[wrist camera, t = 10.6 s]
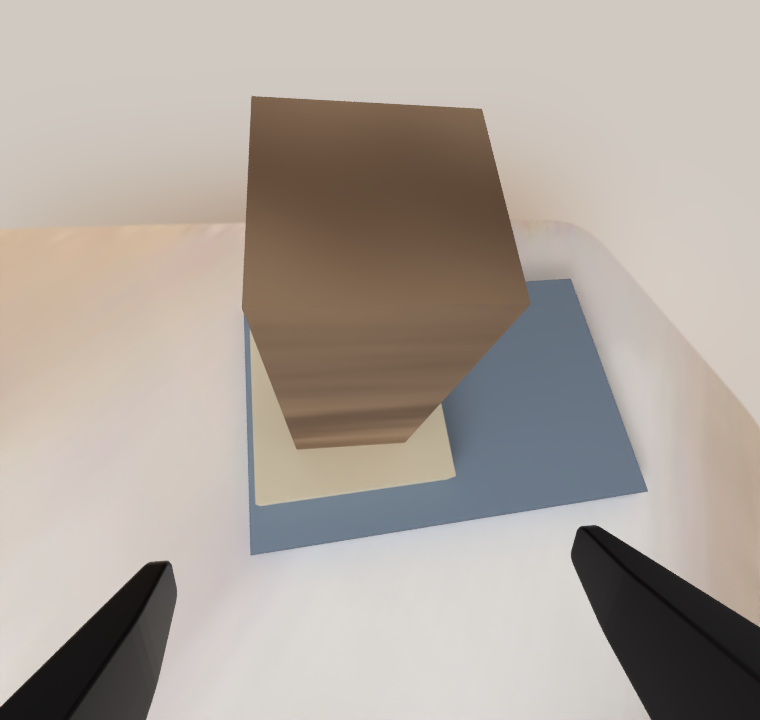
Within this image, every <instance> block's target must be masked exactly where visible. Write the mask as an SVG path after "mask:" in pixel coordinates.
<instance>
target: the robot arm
mask: <svg viewBox="0 0 760 720" xmlns="http://www.w3.org/2000/svg"><path fill="white" fill-rule="evenodd" d="M571 559H572V562H573V565H574V567H575V570H576V572H577V574H578V576H579V579H580V581H581V583H582V586H583V588H584V590H585V592H586V595H587V597H588V599H589V601H590V604H591V606H592V608H593V610H594V613H595V615H596V617H597V620H598V622H599V624H600V626H601V628H602V630H603V632H604V634H605V636H606V638H607V640H608V642H609V644H610V645H611V647H612V649H613V651H614V653H615V655H616V656H617V658H618V660H619V662H620V664H621V665H622V667H623V669H624V671H625V673H626V675H627V676H628V678H629V680H630V682H631V684H632V685H633V687H634V689H635V691H636V693H637V695H638V696H639V698H640V700H641V702H642V704H643V706H644V707H645V709H646V711H647V713H648V715H649V716H650V718H651V720H760V627H759V626H757V625H755V624H754V623H752V622H751V621H749V620H747V619H746V618H744V617H743V616H741V615H739V614H738V613H736V612H735V611H733V610H731V609H730V608H728V607H727V606H725V605H723V604H722V603H720V602H719V601H717V600H715V599H714V598H712V597H711V596H709V595H708V594H706V593H704V592H703V591H701V590H700V589H698V588H696V587H695V586H693V585H692V584H690V583H688V582H687V581H685V580H684V579H682V578H680V577H679V576H677V575H676V574H674V573H672V572H671V571H669V570H668V569H666V568H664V567H663V566H661V565H660V564H658V563H657V562H655V561H653V560H652V559H650V558H649V557H647V556H645V555H644V554H642V553H641V552H639V551H637V550H636V549H634V548H633V547H631V546H629V545H628V544H626V543H625V542H623V541H621V540H620V539H618V538H617V537H615V536H613V535H612V534H610V533H609V532H607V531H606V530H604V529H602V528H601V527H599V526H595V525H591V526H581V527H579V528H578V530H577V533H576V536H575V540H574V543H573V547H572V551H571ZM176 599H177V587H176V583H175V578H174V574H173V569H172V565H171V563H170V562H169V561H156V562H149V563H147V564H146V565H144V566H143V567H142V568H141V569H140V570H139V571H138V572H137V573H136V574H135V575H134V576H133V577H132V578H131V579H130V580H129V581H128V582H127V583H126V584H125V585H124V586H123V587H122V588H121V589H120V590H119V591H118V592H117V593H116V594H115V595H114V596H113V597H112V598H111V599H110V600H109V601H108V602H107V603H106V604H105V605H104V606H103V607H102V608H101V609H100V610H99V611H98V612H97V613H96V614H95V615H94V616H92V617H91V618H90V619H89V620H88V621H87V622H86V623H85V624H84V625H83V626H82V627H81V628H80V629H79V630H78V631H77V632H76V633H75V634H74V635H73V636H72V637H71V638H70V639H69V640H68V641H67V642H66V643H65V644H64V645H63V646H62V647H61V648H60V649H59V650H58V651H57V652H56V653H55V654H54V655H53V656H52V657H51V658H50V659H49V660H48V661H47V662H46V663H45V664H44V665H43V666H42V667H41V668H40V669H39V670H38V671H37V672H35V673H34V674H33V675H32V676H31V677H30V678H29V679H28V680H27V681H26V682H25V683H24V684H23V685H22V686H21V687H20V688H19V689H18V690H17V691H16V692H15V693H14V694H13V695H12V696H11V697H10V698H9V699H8V700H7V701H6V702H5V703H4V704H3V705H2V706H1V707H0V720H146V718H147V715H148V712H149V709H150V706H151V703H152V700H153V696H154V693H155V690H156V686H157V683H158V678H159V674H160V670H161V666H162V661H163V657H164V653H165V648H166V644H167V639H168V635H169V631H170V626H171V622H172V617H173V613H174V608H175V604H176Z"/></svg>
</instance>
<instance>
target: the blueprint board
mask: <svg viewBox="0 0 760 720" xmlns="http://www.w3.org/2000/svg"><path fill="white" fill-rule="evenodd" d="M525 283H526V287H527V291H528V295H529V299H530V303H531V304H530V305H529V306H528V308H527V309H526V310H525V311H524V312H523V313H522V314H521V315H520V316H519V317H518V319H517V320H516V321H515V322H514V323H513V324H512V325H511V326H510V327H509V329H508V330H507V331H506V332H505V333H504V334H503V335H502V336H501V337H500V338H499V340H498V341H497V342H496V343H495V344H494V345H493V346H492V347H491V348H490V349H489V351H488V352H487V353H486V354H485V355H484V356H483V357H482V358H481V359H480V361H479V362H478V363H477V364H476V365H475V366H474V367H473V368H472V369H471V370H470V372H469V373H468V374H467V375H466V376H465V377H464V378H463V379H462V380H461V381H460V383H459V384H458V385H457V386H456V387H455V388H454V389H453V390H452V391H451V392H450V394H449V395H448V396H447V397H446V398H445V399H444V400H443V401H442V402H441V404H440V405H439V406H438V407H437V408H436V409H435V410H434V411H433V412H432V413H431V415H430V416H429V417H428V418H427V419H426V420H425V421H424V422H423V423H422V424H421V426H420V427H419V428H418V429H417V430H416V431H415V432H414V433H413V434H412V436H411V437H410V438H409V439H408V440H407V441H406V442H405V443H394V444H378V445H363V446H347V447H331V448H315V449H299V450H297V449H296V447H295V444H294V442H293V439H292V436H291V434H290V431H289V429H288V426H287V424H286V421H285V418H284V416H283V413H282V411H281V408H280V405H279V403H278V400H277V398H276V395H275V392H274V390H273V387H272V385H271V382H270V380H269V377H268V374H267V372H266V369H265V367H264V364H263V361H262V359H261V356H260V354H259V351H258V349H257V346H256V343H255V341H254V338H253V336H252V333H251V330H250V328H249V325H248V323H247V320H246V317H245V315H244V331H245V367H246V403H247V440H248V476H249V512H250V549H251V555H256V554H263V553H269V552H275V551H281V550H287V549H294V548H300V547H306V546H312V545H318V544H325V543H331V542H337V541H343V540H350V539H356V538H362V537H368V536H374V535H381V534H387V533H393V532H399V531H405V530H412V529H418V528H424V527H430V526H436V525H443V524H449V523H455V522H461V521H467V520H474V519H480V518H486V517H492V516H498V515H505V514H511V513H517V512H523V511H530V510H536V509H542V508H548V507H554V506H561V505H567V504H573V503H579V502H585V501H592V500H598V499H604V498H610V497H616V496H623V495H629V494H635V493H641V492H647V491H648V490H647V487H646V485H645V482H644V479H643V476H642V474H641V471H640V468H639V465H638V463H637V460H636V457H635V454H634V452H633V449H632V446H631V443H630V441H629V438H628V435H627V432H626V430H625V427H624V424H623V421H622V419H621V416H620V413H619V410H618V408H617V405H616V402H615V399H614V397H613V394H612V391H611V388H610V386H609V383H608V380H607V377H606V375H605V372H604V369H603V366H602V364H601V361H600V358H599V356H598V353H597V350H596V347H595V345H594V342H593V339H592V336H591V334H590V331H589V328H588V325H587V323H586V320H585V317H584V314H583V312H582V309H581V306H580V303H579V301H578V298H577V295H576V292H575V290H574V287H573V284H572V281H571V279H560V280H544V281H528V282H525Z"/></svg>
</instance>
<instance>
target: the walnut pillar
mask: <svg viewBox="0 0 760 720" xmlns="http://www.w3.org/2000/svg"><path fill="white" fill-rule="evenodd" d="M530 304H531V303H530V299H529V295H528V291H527V287H526V283H525V279H524V275H523V271H522V267H521V263H520V259H519V255H518V251H517V247H516V243H515V239H514V235H513V231H512V227H511V223H510V219H509V215H508V211H507V207H506V204H505V200H504V196H503V191H502V187H501V183H500V179H499V175H498V171H497V167H496V163H495V160H494V155H493V152H492V148H491V143H490V140H489V135H488V131H487V128H486V124H485V120H484V116H483V112H482V109H473V108H472V109H471V108H455V107H437V106H419V105H400V104H383V103H364V102H363V103H362V102H345V101H327V100H309V99H291V98H274V97H255V96H252V99H251V121H250V143H249V166H248V187H247V210H246V231H245V254H244V276H243V298H242V310H243V312H244V315H245V317H246V320H247V323H248V325H249V328H250V330H251V333H252V336H253V338H254V341H255V343H256V346H257V349H258V351H259V354H260V356H261V359H262V361H263V364H264V367H265V369H266V372H267V374H268V377H269V380H270V382H271V385H272V387H273V390H274V392H275V395H276V398H277V400H278V403H279V405H280V408H281V411H282V413H283V416H284V418H285V421H286V424H287V426H288V429H289V431H290V434H291V436H292V439H293V442H294V444H295V447H296V449H297V450H299V449H315V448H331V447H347V446H363V445H378V444H394V443H405V442H406V441H407V440H408V439H409V438H410V437H411V436H412V434H413V433H414V432H415V431H416V430H417V429H418V428H419V427H420V426H421V424H422V423H423V422H424V421H425V420H426V419H427V418H428V417H429V416H430V415H431V413H432V412H433V411H434V410H435V409H436V408H437V407H438V406H439V405H440V404H441V402H442V401H443V400H444V399H445V398H446V397H447V396H448V395H449V394H450V392H451V391H452V390H453V389H454V388H455V387H456V386H457V385H458V384H459V383H460V381H461V380H462V379H463V378H464V377H465V376H466V375H467V374H468V373H469V372H470V370H471V369H472V368H473V367H474V366H475V365H476V364H477V363H478V362H479V361H480V359H481V358H482V357H483V356H484V355H485V354H486V353H487V352H488V351H489V349H490V348H491V347H492V346H493V345H494V344H495V343H496V342H497V341H498V340H499V338H500V337H501V336H502V335H503V334H504V333H505V332H506V331H507V330H508V329H509V327H510V326H511V325H512V324H513V323H514V322H515V321H516V320H517V319H518V317H519V316H520V315H521V314H522V313H523V312H524V311H525V310H526V309H527V308H528V306H529V305H530Z"/></svg>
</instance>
